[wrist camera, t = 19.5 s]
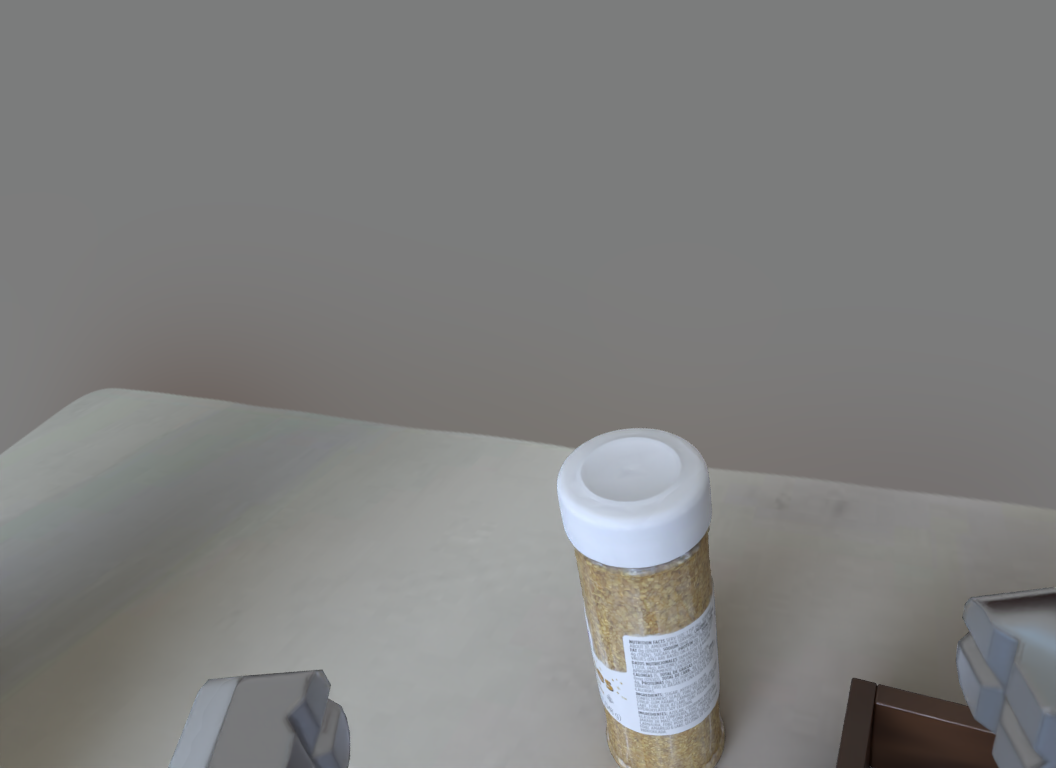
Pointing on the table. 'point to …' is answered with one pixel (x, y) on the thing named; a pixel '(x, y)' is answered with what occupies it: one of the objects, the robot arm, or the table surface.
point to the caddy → (910, 731)
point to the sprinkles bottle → (647, 593)
